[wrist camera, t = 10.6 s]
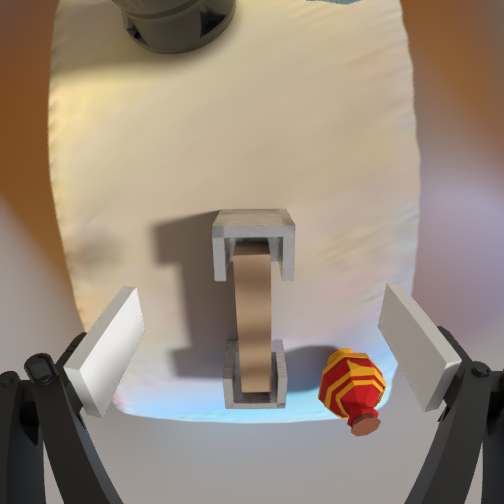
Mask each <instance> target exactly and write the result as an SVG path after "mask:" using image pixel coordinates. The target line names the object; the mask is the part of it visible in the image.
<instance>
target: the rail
mask: <svg viewBox="0 0 504 504" xmlns="http://www.w3.org/2000/svg"><path fill="white" fill-rule="evenodd" d="M233 268H234V284H235V300H236V315H237V330H238V344H239V358H240V371H241V384H242V392H271V260H270V249H269V242H268V241H256V242H235V247H234V252H233Z"/></svg>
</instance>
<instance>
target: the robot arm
mask: <svg viewBox="0 0 504 504" xmlns="http://www.w3.org/2000/svg"><path fill="white" fill-rule="evenodd" d="M112 1H113V2H115V3H116V4H117V5H118V6H119V7H120V8H121V10H122V15H123V21H124V25H125V28H126V30H127V32H128V33H129V35H130V36H131V37H132V38H133V39H134V40H135V41H136V42H137V43H138V44H140V45H141V46H142V47H144V48H146V49H148V50H150V51H153V52H157V53H164V54H175V53H182V52H187V51H191V50H194V49H196V48H199V47H201V46H203V45H205V44H207V43H209V42H210V41H212V40H213V39H215V38H216V37H217V36H218V35H220V34H221V33H222V32H223V31H224V29H225V28H226V27H227V26H228V24H229V23H230V21H231V20H232V18H233V15H234V12H235V8H236V0H112ZM307 1H315V0H307ZM319 1H325V2H331V3H336V4H351V3H354V2H358V1H360V0H319ZM378 328H379V330H380V331H381V333H382V335H383V337H384V338H385V340H386V342H387V344H388V345H389V347H390V349H391V351H392V353H393V354H394V356H395V358H396V360H397V362H398V364H399V365H400V367H401V369H402V371H403V373H404V375H405V377H406V378H407V380H408V382H409V384H410V386H411V388H412V390H413V392H414V394H415V395H416V398H417V400H418V402H419V404H420V405H421V408H422V410H423V412H427V411H431V410H434V409H438V408H439V406H440V404H441V402H442V400H443V399H444V401H445V402H446V404H447V406H446V407H445V409H444V411H443V413H442V415H441V416H440V418H439V420H438V422H440V423H439V426H438V429H437V432H436V434H435V437H434V440H433V443H432V445H431V447H430V450H429V453H428V455H427V457H426V460H425V462H424V464H423V466H422V469H421V471H420V473H419V475H418V478H417V479H416V482H415V484H414V486H413V488H412V490H411V492H410V494H409V496H408V498H407V499H406V501H405V503H404V504H464V503H465V500H466V497H467V494H468V491H469V488H470V485H471V482H472V478H473V475H474V472H475V468H476V464H477V461H478V457H479V452H480V448H481V444H482V442H483V482H482V498H481V504H504V369H503V371H491V370H490V368H489V367H488V366H487V365H486V364H484V363H482V362H478V361H474V362H473V361H472V360H471V359H470V358H469V356H468V355H467V353H466V352H465V351H464V350H463V348H462V347H461V346H460V345H458V342H457V341H456V340H455V339H454V337H453V336H452V335H451V334H450V332H449V331H447V330H446V329H444V328H443V327H441V326H438V327H436V326H435V325H434V323H433V322H432V321H431V320H430V319H429V317H428V316H427V315H426V314H425V312H424V311H423V310H422V309H421V308H420V306H418V304H417V303H416V302H415V301H414V299H413V298H412V297H411V296H410V295H409V294H408V292H407V291H406V290H405V289H404V288H403V287H402V286H401V284H400V283H387V284H386V289H385V295H384V300H383V305H382V310H381V314H380V319H379V324H378ZM144 332H145V327H144V322H143V318H142V313H141V309H140V304H139V299H138V294H137V289H136V287H122V289H121V290H120V291H119V293H118V294H117V295H116V296H115V298H114V299H113V300H112V301H111V303H110V304H109V305H108V307H107V308H106V309H105V310H104V312H103V313H102V314H101V316H100V317H99V318H98V320H97V321H96V322H95V324H94V325H93V326H92V328H91V329H90V330H89V332H88V333H85V332H83V333H81V334H80V335H78V336H77V337H75V338H74V340H73V341H72V342H71V344H70V346H68V348H67V349H66V351H65V352H64V353H63V354H62V356H61V357H60V358H59V360H58V361H57V363H56V364H54V362H53V360H52V358H51V356H50V355H48V354H46V353H39V354H35V355H33V356H31V357H30V358H29V359H27V361H26V362H25V364H24V369H25V371H26V372H27V375H28V377H29V378H30V380H21V379H20V378H19V376H18V374H17V373H16V372H14V371H7V372H4V373H2V374H1V375H0V504H46V498H45V486H44V462H43V440H44V443H45V447H46V451H47V454H48V458H49V461H50V464H51V468H52V471H53V474H54V477H55V480H56V482H57V486H58V488H59V491H60V494H61V496H62V499H63V502H64V504H123V502H122V501H121V499H120V497H119V495H118V494H117V492H116V490H115V488H114V486H113V484H112V482H111V480H110V478H109V477H108V475H107V473H106V471H105V469H104V467H103V465H102V463H101V461H100V458H99V456H98V454H97V452H96V450H95V447H94V445H93V443H92V440H91V438H90V436H89V433H88V431H87V428H86V426H85V423H84V421H83V418H82V416H81V414H80V413H79V412H80V410H81V408H82V406H83V407H84V409H85V411H86V413H87V415H91V416H95V417H99V418H103V417H104V414H105V412H106V410H107V408H108V406H109V403H110V401H111V399H112V397H113V395H114V393H115V391H116V388H117V386H118V384H119V382H120V380H121V378H122V376H123V374H124V372H125V370H126V368H127V366H128V364H129V362H130V360H131V357H132V355H133V353H134V351H135V349H136V347H137V345H138V343H139V342H140V340H141V338H142V336H143V334H144Z"/></svg>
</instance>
